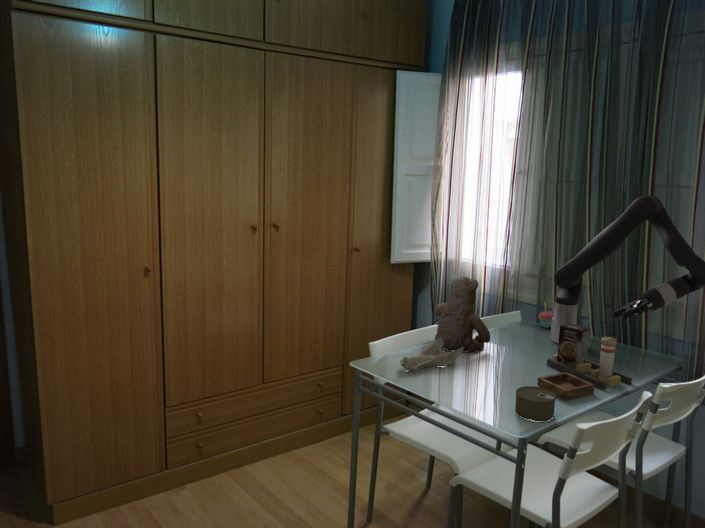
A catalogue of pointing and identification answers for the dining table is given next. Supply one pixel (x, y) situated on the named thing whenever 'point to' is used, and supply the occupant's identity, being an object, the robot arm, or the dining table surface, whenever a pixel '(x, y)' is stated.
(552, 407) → the can
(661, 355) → the dining table surface
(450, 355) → the skull
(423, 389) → the dining table surface
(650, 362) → the dining table surface
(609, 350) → the fuse
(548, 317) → the cupcake
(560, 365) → the block
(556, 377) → the tray
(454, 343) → the toy
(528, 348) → the dining table surface
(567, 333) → the coffee box
